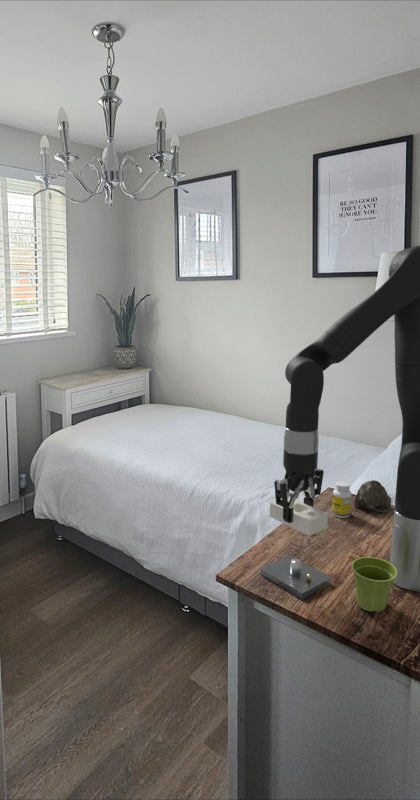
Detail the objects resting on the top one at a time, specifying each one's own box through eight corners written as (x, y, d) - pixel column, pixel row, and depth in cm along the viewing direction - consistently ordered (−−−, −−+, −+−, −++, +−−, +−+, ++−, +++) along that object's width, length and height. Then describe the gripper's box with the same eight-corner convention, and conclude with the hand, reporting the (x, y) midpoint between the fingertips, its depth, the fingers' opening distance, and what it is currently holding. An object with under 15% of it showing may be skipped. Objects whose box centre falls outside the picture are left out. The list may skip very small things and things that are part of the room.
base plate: (331, 583, 121) (332, 565, 120) (301, 599, 115) (302, 581, 114) (289, 560, 131) (290, 544, 130) (260, 574, 125) (261, 557, 124)
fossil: (383, 517, 153) (369, 485, 154) (356, 522, 159) (343, 492, 160) (396, 503, 162) (383, 473, 162) (370, 509, 168) (357, 480, 168)
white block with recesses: (269, 516, 122) (270, 502, 122) (287, 509, 126) (288, 496, 125) (309, 535, 113) (309, 520, 112) (327, 527, 117) (327, 513, 116)
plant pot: (402, 604, 113) (405, 568, 111) (380, 624, 107) (383, 586, 105) (363, 586, 120) (365, 552, 118) (340, 604, 113) (343, 567, 111)
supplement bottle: (328, 511, 158) (330, 481, 156) (344, 509, 160) (346, 479, 158) (337, 519, 153) (339, 488, 151) (353, 517, 155) (356, 486, 152)
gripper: (309, 437, 123) (306, 504, 127) (265, 449, 114) (263, 520, 118) (335, 445, 117) (331, 514, 121) (291, 458, 108) (288, 533, 112)
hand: (298, 517), depth 119 cm, fingers closed on white block with recesses, 6 cm apart
